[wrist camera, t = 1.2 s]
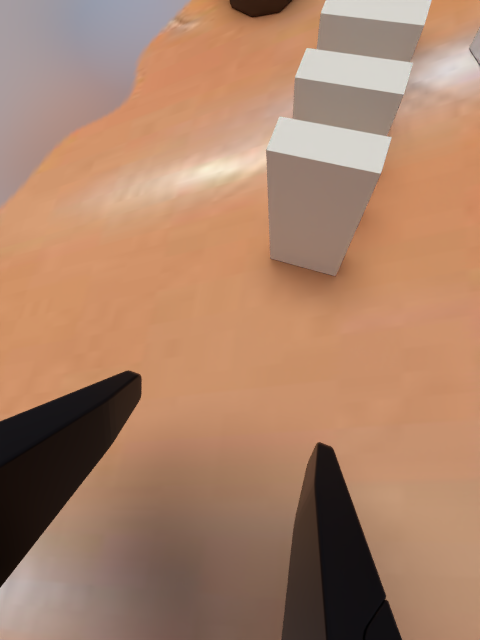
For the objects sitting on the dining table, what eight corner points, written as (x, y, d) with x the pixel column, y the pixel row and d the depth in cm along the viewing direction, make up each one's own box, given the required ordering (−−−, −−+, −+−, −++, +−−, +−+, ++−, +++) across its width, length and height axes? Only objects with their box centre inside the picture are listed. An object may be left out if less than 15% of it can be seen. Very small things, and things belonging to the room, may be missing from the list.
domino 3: (365, 179, 26) (424, 25, 16) (303, 166, 27) (320, 13, 17) (371, 160, 27) (432, -3, 16) (310, 147, 28) (331, -13, 17)
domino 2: (350, 226, 25) (403, 94, 15) (287, 210, 26) (295, 77, 16) (357, 204, 26) (412, 62, 15) (294, 190, 27) (306, 48, 16)
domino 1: (335, 276, 24) (380, 173, 14) (270, 258, 25) (266, 149, 15) (342, 253, 25) (391, 137, 14) (278, 236, 26) (279, 116, 15)
